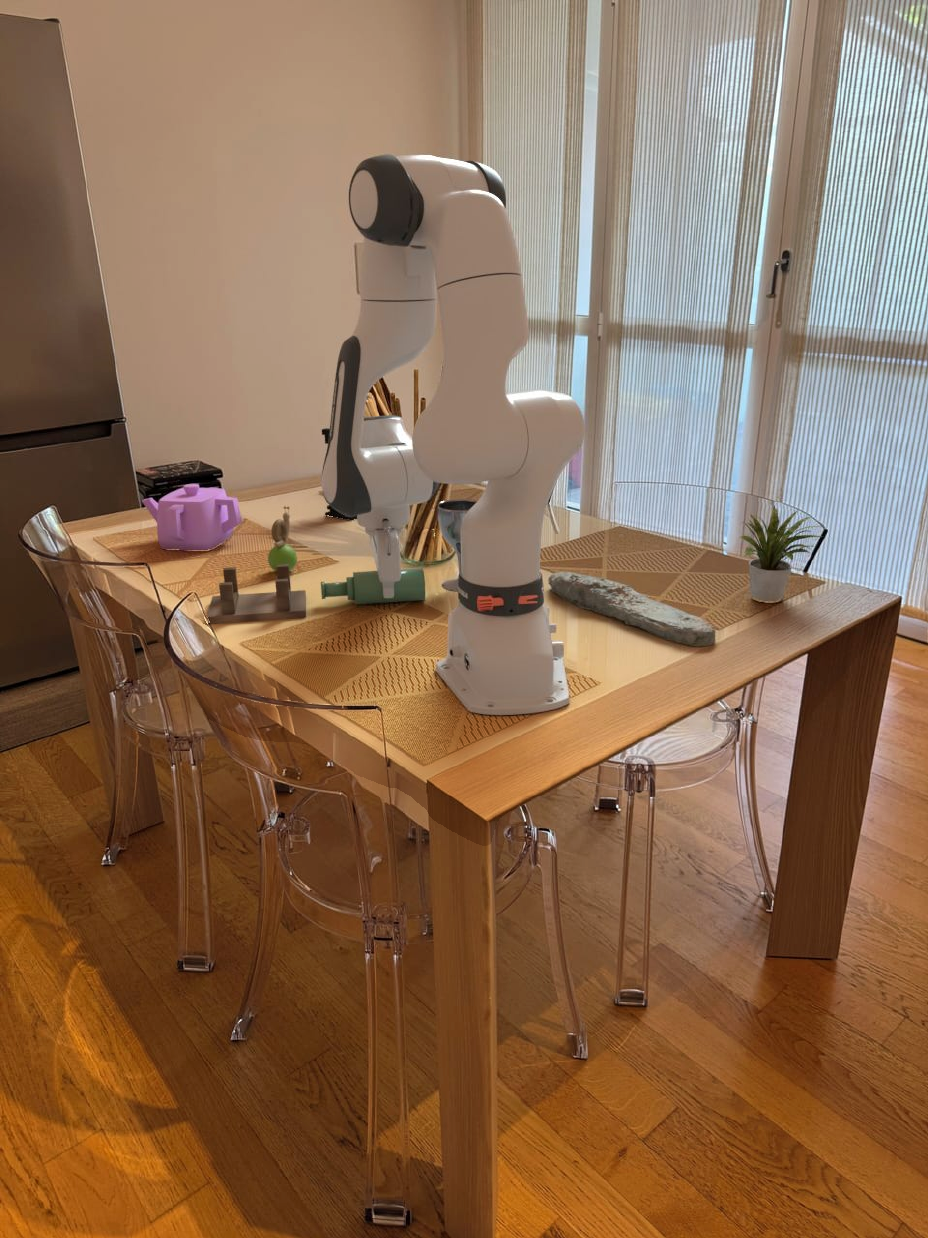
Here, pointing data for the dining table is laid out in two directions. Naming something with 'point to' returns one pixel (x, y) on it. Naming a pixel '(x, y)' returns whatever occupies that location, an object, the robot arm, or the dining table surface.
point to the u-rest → (256, 600)
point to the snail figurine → (282, 544)
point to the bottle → (377, 587)
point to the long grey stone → (632, 608)
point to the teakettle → (194, 517)
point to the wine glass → (453, 529)
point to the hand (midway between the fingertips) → (386, 589)
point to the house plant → (772, 556)
